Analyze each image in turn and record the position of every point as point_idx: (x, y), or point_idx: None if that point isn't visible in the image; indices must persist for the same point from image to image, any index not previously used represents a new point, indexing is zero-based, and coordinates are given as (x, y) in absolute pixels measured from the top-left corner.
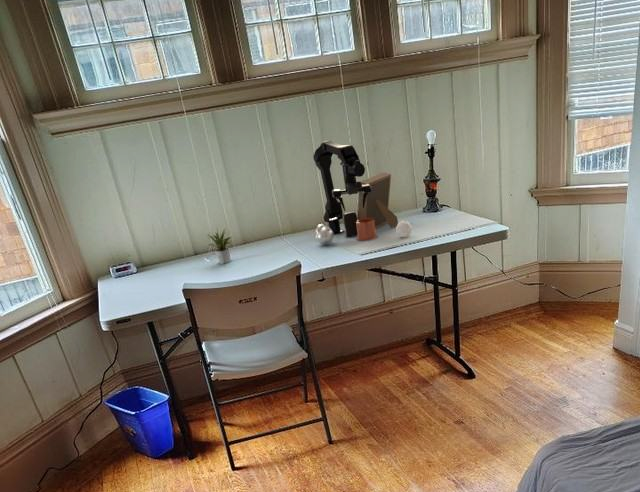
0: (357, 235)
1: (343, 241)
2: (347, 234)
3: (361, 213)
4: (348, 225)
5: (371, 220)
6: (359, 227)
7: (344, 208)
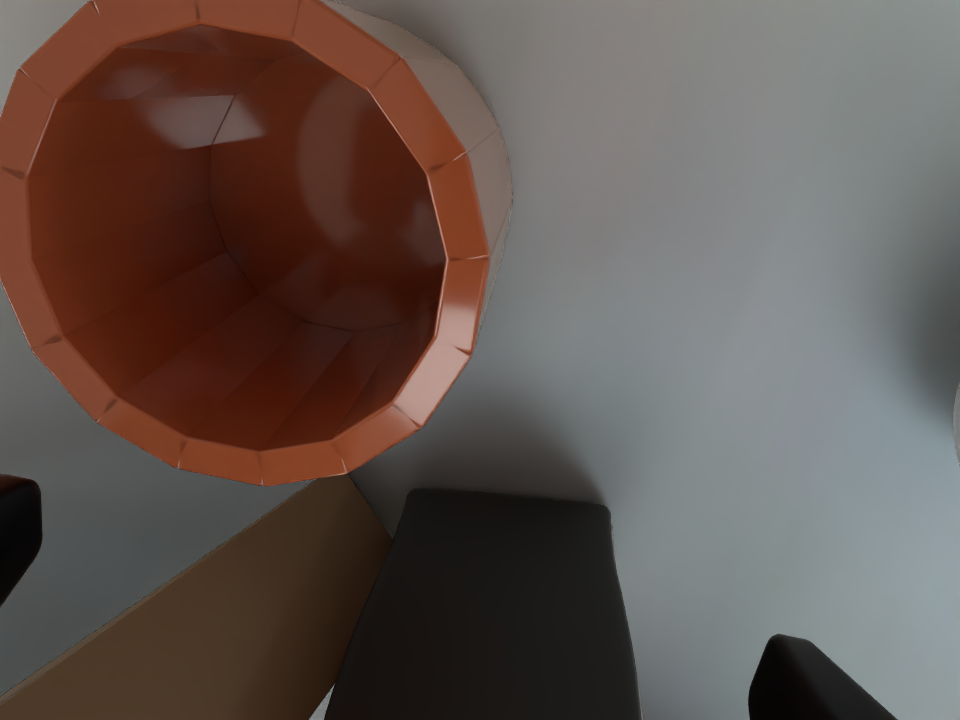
0: (502, 253)
1: (745, 325)
2: (596, 522)
3: (193, 697)
4: (558, 610)
5: (72, 82)
6: (458, 112)
7: (846, 703)
